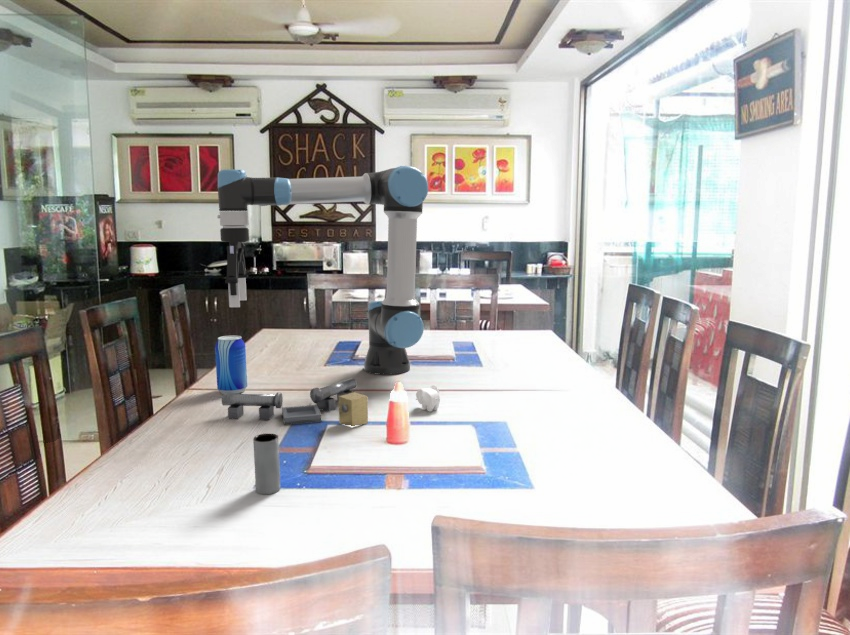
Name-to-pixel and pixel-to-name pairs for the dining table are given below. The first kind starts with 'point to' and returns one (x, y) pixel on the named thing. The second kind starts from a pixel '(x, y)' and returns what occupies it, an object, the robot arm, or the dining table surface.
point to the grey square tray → (301, 414)
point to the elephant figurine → (428, 398)
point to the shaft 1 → (252, 404)
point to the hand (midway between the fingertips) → (238, 303)
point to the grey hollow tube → (266, 463)
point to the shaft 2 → (331, 393)
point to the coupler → (353, 409)
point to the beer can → (231, 364)
